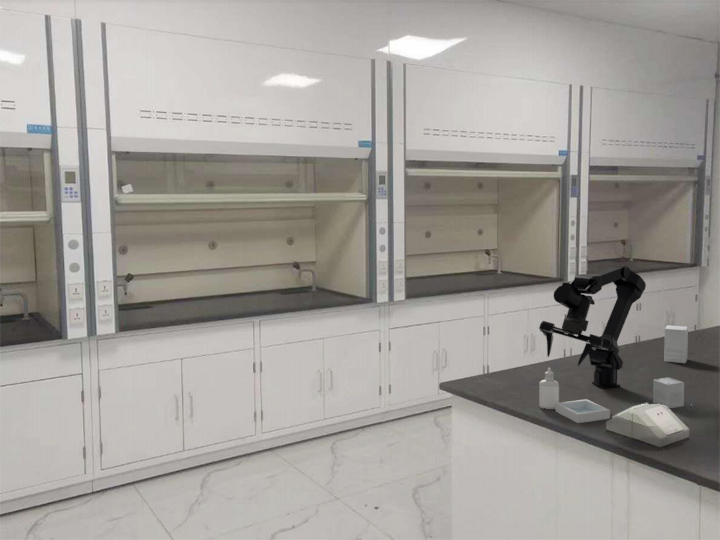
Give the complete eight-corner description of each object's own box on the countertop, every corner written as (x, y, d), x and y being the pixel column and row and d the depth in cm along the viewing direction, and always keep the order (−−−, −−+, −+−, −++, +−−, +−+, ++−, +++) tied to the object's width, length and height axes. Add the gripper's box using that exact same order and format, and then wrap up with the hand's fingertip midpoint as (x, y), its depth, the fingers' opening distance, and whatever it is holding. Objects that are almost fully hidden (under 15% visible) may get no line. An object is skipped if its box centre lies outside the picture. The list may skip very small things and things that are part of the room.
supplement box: (687, 359, 239) (688, 326, 238) (685, 363, 233) (686, 330, 232) (666, 357, 243) (667, 324, 242) (663, 361, 237) (664, 328, 235)
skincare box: (684, 406, 186) (685, 382, 186) (667, 409, 185) (668, 384, 184) (668, 400, 192) (669, 376, 191) (652, 402, 191) (652, 378, 190)
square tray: (586, 407, 188) (586, 399, 188) (609, 418, 178) (610, 410, 178) (555, 411, 185) (555, 403, 185) (577, 423, 175) (577, 414, 175)
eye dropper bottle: (554, 411, 185) (554, 371, 184) (536, 407, 189) (536, 367, 188) (561, 407, 188) (561, 368, 187) (543, 403, 192) (544, 365, 191)
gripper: (545, 299, 194) (530, 347, 192) (608, 316, 186) (593, 367, 184) (548, 307, 204) (534, 353, 202) (608, 323, 196) (594, 371, 194)
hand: (563, 361), depth 195 cm, fingers open, 9 cm apart
